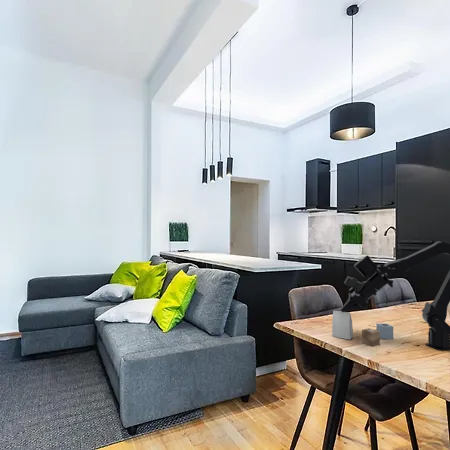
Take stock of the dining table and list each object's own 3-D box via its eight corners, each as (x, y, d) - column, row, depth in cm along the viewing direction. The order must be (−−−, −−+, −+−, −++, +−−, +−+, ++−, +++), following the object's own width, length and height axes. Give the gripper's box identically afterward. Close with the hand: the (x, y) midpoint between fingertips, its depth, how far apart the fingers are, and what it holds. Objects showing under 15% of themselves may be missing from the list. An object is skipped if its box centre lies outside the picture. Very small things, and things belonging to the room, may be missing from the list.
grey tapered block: (349, 339, 127) (348, 313, 127) (332, 336, 131) (331, 311, 131) (352, 337, 130) (351, 311, 130) (336, 334, 134) (335, 309, 134)
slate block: (393, 339, 129) (393, 326, 129) (382, 339, 129) (382, 326, 129) (387, 335, 133) (387, 323, 134) (376, 335, 133) (376, 322, 133)
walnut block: (379, 344, 122) (379, 330, 122) (372, 346, 120) (372, 332, 120) (368, 341, 126) (368, 327, 126) (361, 343, 123) (361, 329, 124)
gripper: (355, 267, 138) (327, 291, 141) (359, 272, 121) (327, 299, 124) (374, 288, 136) (345, 311, 139) (382, 296, 118) (348, 322, 121)
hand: (341, 310), depth 131 cm, fingers closed, pressing on grey tapered block
